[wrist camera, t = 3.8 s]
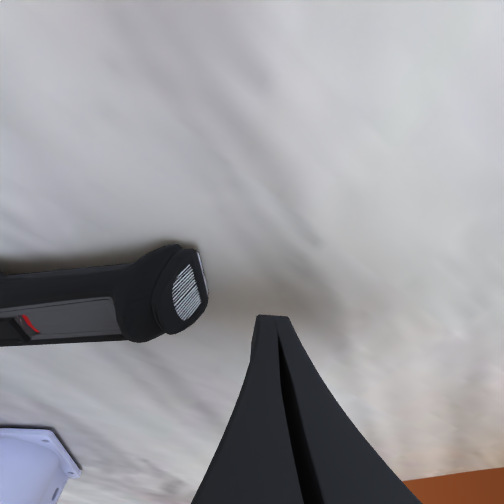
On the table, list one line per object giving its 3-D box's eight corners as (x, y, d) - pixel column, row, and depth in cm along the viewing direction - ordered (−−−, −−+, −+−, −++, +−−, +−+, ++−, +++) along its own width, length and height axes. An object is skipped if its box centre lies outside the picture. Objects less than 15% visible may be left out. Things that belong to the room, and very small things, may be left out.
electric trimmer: (-159, 260, 10) (-301, 317, 8) (195, 234, 10) (174, 286, 7) (-86, 320, 12) (-178, 381, 10) (211, 302, 12) (200, 362, 9)
